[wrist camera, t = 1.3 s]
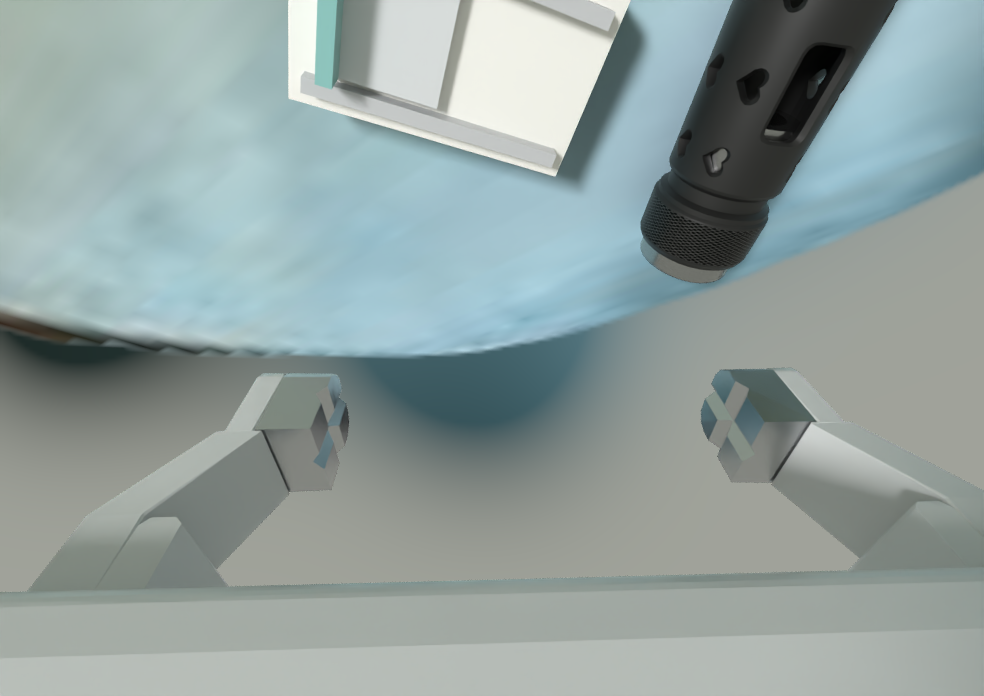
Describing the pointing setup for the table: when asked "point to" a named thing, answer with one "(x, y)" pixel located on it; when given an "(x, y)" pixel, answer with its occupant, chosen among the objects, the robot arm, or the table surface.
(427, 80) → the shutter
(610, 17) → the socket box
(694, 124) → the muzzle brake
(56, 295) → the table surface
